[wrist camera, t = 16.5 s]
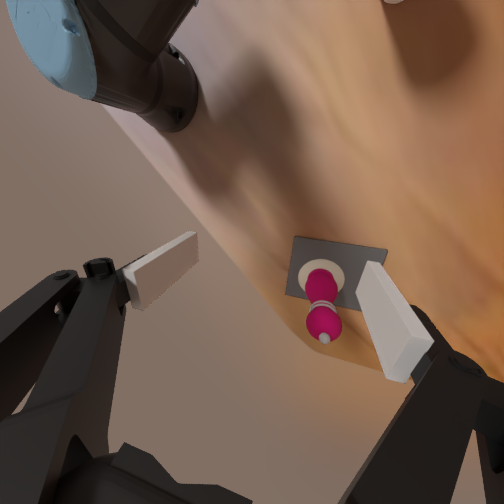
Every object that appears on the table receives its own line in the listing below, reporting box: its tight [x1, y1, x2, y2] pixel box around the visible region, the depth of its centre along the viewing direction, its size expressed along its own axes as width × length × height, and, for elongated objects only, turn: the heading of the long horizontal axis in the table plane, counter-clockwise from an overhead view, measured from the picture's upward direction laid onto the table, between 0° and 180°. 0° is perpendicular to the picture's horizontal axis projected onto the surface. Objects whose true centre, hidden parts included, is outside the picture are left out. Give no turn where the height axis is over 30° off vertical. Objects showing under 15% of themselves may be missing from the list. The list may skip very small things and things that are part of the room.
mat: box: [285, 236, 388, 311], centre depth 48 cm, size 20×17×1 cm
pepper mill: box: [305, 268, 342, 344], centre depth 40 cm, size 7×7×20 cm
